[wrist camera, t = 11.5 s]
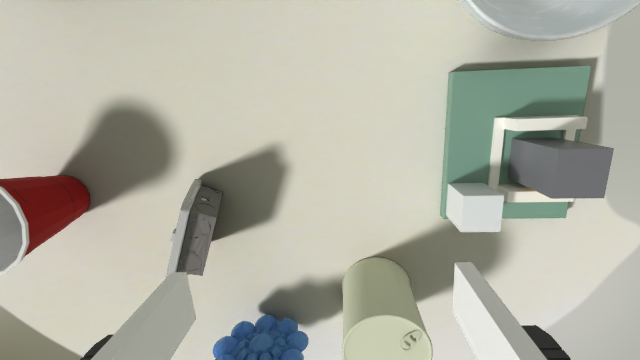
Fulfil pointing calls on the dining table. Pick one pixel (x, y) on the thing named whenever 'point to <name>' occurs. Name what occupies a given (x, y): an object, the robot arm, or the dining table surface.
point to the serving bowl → (546, 16)
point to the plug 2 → (560, 167)
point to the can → (381, 314)
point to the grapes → (263, 341)
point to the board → (509, 129)
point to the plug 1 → (474, 207)
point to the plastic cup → (36, 213)
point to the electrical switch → (194, 230)
